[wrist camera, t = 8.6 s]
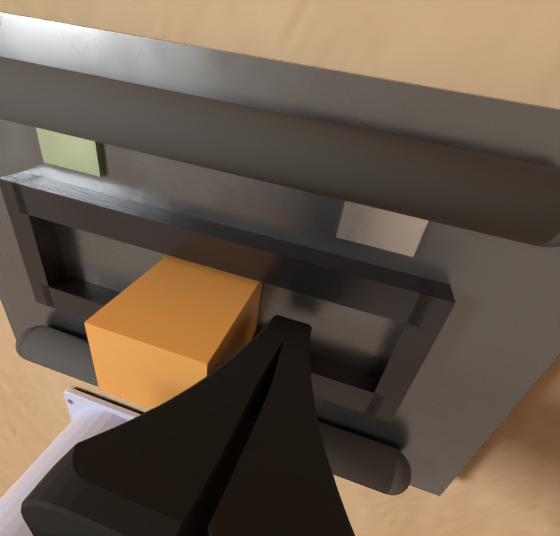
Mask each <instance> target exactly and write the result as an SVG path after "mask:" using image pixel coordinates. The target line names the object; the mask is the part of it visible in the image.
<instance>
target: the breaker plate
mask: <svg viewBox="0 0 560 536" xmlns="http://www.w3.org/2000/svg"><path fill="white" fill-rule="evenodd" d="M0 57H5V58H10V59H15V60H20V61H25V62H30V63H35V64H40V65H45V66H50V67H55V68H60V69H65V70H70V71H75V72H80V73H85V74H90V75H95V76H100V77H105V78H110V79H115V80H120V81H125V82H130V83H135V84H140V85H145V86H150V87H155V88H160V89H165V90H170V91H175V92H180V93H185V94H190V95H195V96H200V97H205V98H210V99H215V100H220V101H225V102H230V103H235V104H240V105H245V106H250V107H255V108H260V109H265V110H270V111H275V112H280V113H285V114H290V115H295V116H300V117H305V118H310V119H315V120H320V121H325V122H330V123H335V124H340V125H345V126H350V127H355V128H360V129H365V130H370V131H375V132H380V133H385V134H390V135H395V136H400V137H405V138H410V139H415V140H420V141H425V142H430V143H435V144H440V145H445V146H450V147H455V148H460V149H465V150H470V151H475V152H480V153H485V154H490V155H495V156H500V157H505V158H509V159H514V160H519V161H524V162H529V163H534V164H539V165H544V166H549V167H554V168H559V169H560V109H555V108H549V107H543V106H538V105H532V104H526V103H520V102H515V101H509V100H503V99H497V98H492V97H486V96H480V95H474V94H469V93H463V92H457V91H451V90H446V89H440V88H434V87H428V86H423V85H417V84H411V83H406V82H400V81H394V80H388V79H383V78H377V77H371V76H365V75H360V74H354V73H348V72H342V71H337V70H331V69H325V68H319V67H314V66H308V65H302V64H296V63H291V62H285V61H279V60H273V59H268V58H262V57H256V56H250V55H245V54H239V53H233V52H228V51H222V50H216V49H210V48H205V47H199V46H193V45H187V44H182V43H176V42H170V41H164V40H159V39H153V38H147V37H141V36H136V35H130V34H124V33H118V32H113V31H107V30H101V29H95V28H90V27H84V26H78V25H72V24H67V23H61V22H55V21H50V20H44V19H38V18H32V17H27V16H21V15H15V14H9V13H4V12H0ZM167 255H169V256H173V257H176V258H180V259H183V260H186V261H190V262H193V263H197V264H200V265H204V266H207V267H211V268H214V269H218V270H221V271H225V272H228V273H231V274H235V275H238V276H242V277H245V278H249V279H252V280H256V281H259V282H263V284H262V291H261V298H260V305H259V312H258V319H257V326H256V332H255V334H254V336H253V337H252V339H253V338H254V337H255V336H256V335H257V334H258V333H259V332H260V331H261V330H262V329H263V328H264V327H265V326H266V325H267V323H268V322H269V321H270V320H271V319H272V318H273V316H275V315H280V316H283V317H287V318H290V319H293V320H296V321H300V322H303V323H306V324H310V326H311V327H312V331H311V336H310V368H311V380H312V388H313V395H314V401H315V407H316V412H317V417H318V421H319V422H322V423H325V424H328V425H331V426H333V427H336V428H339V429H342V430H345V431H348V432H351V433H354V434H356V435H359V436H362V437H365V438H368V439H371V440H374V441H376V442H379V443H382V444H385V445H388V446H391V447H393V448H395V449H397V450H399V451H400V452H401V453H402V454H403V455H404V456H405V457H406V459H407V460H408V462H409V464H410V467H411V474H412V475H411V482H410V484H409V485H411V486H413V487H416V488H419V489H422V490H424V491H427V492H430V493H433V494H435V495H438V496H440V495H441V494H442V493H443V492H444V490H445V489H446V488H447V487H448V486H449V484H450V483H451V482H452V481H453V480H454V479H455V477H456V476H457V475H458V474H459V473H460V471H461V470H462V469H463V468H464V467H465V466H466V464H467V463H468V462H469V461H470V460H471V458H472V457H473V456H474V455H475V454H476V452H477V451H478V450H479V449H480V448H481V447H482V445H483V444H484V443H485V442H486V441H487V439H488V438H489V437H490V436H491V435H492V433H493V432H494V431H495V430H496V429H497V428H498V426H499V425H500V424H501V423H502V422H503V420H504V419H505V418H506V417H507V416H508V415H509V413H510V412H511V411H512V410H513V409H514V407H515V406H516V405H517V404H518V403H519V401H520V400H521V399H522V398H523V397H524V396H525V394H526V393H527V392H528V391H529V390H530V388H531V387H532V386H533V385H534V384H535V382H536V381H537V380H538V379H539V378H540V377H541V375H542V374H543V373H544V372H545V371H546V369H547V368H548V367H549V366H550V365H551V364H552V362H553V361H554V360H555V359H556V358H557V356H558V355H559V354H560V246H557V247H539V246H534V245H529V244H525V243H521V242H517V241H513V240H508V239H504V238H500V237H496V236H492V235H487V234H483V233H479V232H475V231H470V230H466V229H462V228H458V227H454V226H449V225H445V224H441V223H437V222H433V221H428V220H424V219H420V218H416V217H411V216H407V215H403V214H399V213H395V212H390V211H386V210H382V209H378V208H373V207H369V206H365V205H361V204H357V203H352V202H348V201H344V200H340V199H336V198H331V197H327V196H323V195H319V194H314V193H310V192H306V191H302V190H298V189H293V188H289V187H285V186H281V185H277V184H272V183H268V182H264V181H260V180H255V179H251V178H247V177H243V176H239V175H234V174H230V173H226V172H222V171H217V170H213V169H209V168H205V167H201V166H196V165H192V164H188V163H184V162H180V161H175V160H171V159H167V158H163V157H158V156H154V155H150V154H146V153H142V152H137V151H133V150H129V149H125V148H121V147H116V146H112V145H108V144H104V143H99V142H95V141H91V140H87V139H83V138H78V137H74V136H70V135H66V134H61V133H57V132H53V131H49V130H45V129H40V128H36V127H32V126H28V125H24V124H19V123H15V122H11V121H7V120H2V119H0V299H1V302H2V304H3V307H4V310H5V312H6V315H7V317H8V320H9V323H10V325H11V328H12V330H13V333H14V336H15V338H16V340H17V338H18V336H19V335H20V334H21V333H22V332H23V331H24V330H26V329H28V328H30V327H33V326H37V325H43V326H48V327H50V328H53V329H56V330H59V331H62V332H65V333H68V334H70V335H73V336H76V337H79V338H82V339H85V340H88V337H87V333H86V328H85V324H84V322H85V321H86V320H88V319H89V318H90V317H91V316H93V315H94V314H95V313H96V312H98V311H99V310H100V309H101V308H102V307H104V306H105V305H106V304H107V303H109V302H110V301H111V300H112V299H114V298H115V297H116V296H117V295H119V294H120V293H121V292H122V291H124V290H125V289H126V288H127V287H128V286H130V285H131V284H132V283H133V282H135V281H136V280H137V279H138V278H140V277H141V276H142V275H143V274H145V273H146V272H147V271H148V270H150V269H151V268H152V267H153V266H155V265H156V264H157V263H158V262H159V261H161V260H162V259H163V258H164V257H166V256H167ZM252 339H251V340H252Z"/></svg>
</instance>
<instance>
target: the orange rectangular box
mask: <svg viewBox="0 0 560 536" xmlns="http://www.w3.org/2000/svg"><path fill="white" fill-rule="evenodd" d="M262 284H263V282H259V281H256V280H252V279H249V278H245V277H242V276H238V275H235V274H231V273H228V272H225V271H221V270H218V269H214V268H211V267H207V266H204V265H200V264H197V263H193V262H190V261H186V260H183V259H180V258H176V257H173V256H169V255H167V256H166V257H164V258H163V259H162V260H161V261H159V262H158V263H157V264H156V265H155V266H153V267H152V268H151V269H150V270H148V271H147V272H146V273H145V274H143V275H142V276H141V277H140V278H138V279H137V280H136V281H135V282H133V283H132V284H131V285H130V286H128V287H127V288H126V289H125V290H124V291H122V292H121V293H120V294H119V295H117V296H116V297H115V298H114V299H112V300H111V301H110V302H109V303H107V304H106V305H105V306H104V307H102V308H101V309H100V310H99V311H98V312H96V313H95V314H94V315H93V316H91V317H90V318H89V319H88V320H86V321H85V322H84V324H85V328H86V333H87V337H88V342H89V346H90V351H91V355H92V360H93V364H94V369H95V373H96V377H97V382H98V386H99V390H102V391H105V392H107V393H110V394H113V395H115V396H118V397H121V398H123V399H126V400H129V401H131V402H134V403H137V404H139V405H142V406H145V407H147V408H150V409H153V408H155V407H157V406H159V405H161V404H163V403H164V402H166V401H168V400H170V399H171V398H173V397H175V396H176V395H178V394H180V393H181V392H183V391H185V390H186V389H188V388H190V387H191V386H193V385H194V384H196V383H197V382H199V381H200V380H202V379H203V378H205V377H206V376H208V375H209V374H210V373H212V372H213V371H215V370H216V369H217V368H219V367H220V366H221V365H222V364H224V363H225V362H226V361H227V360H229V359H230V358H231V357H232V356H234V355H235V354H236V353H237V352H238V351H240V350H241V349H242V348H243V347H244V346H245V345H246V344H247V343H248V342H250V341H251V339H252V337H253V336H254V334H255V332H256V326H257V319H258V312H259V305H260V298H261V291H262Z"/></svg>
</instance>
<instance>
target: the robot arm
mask: <svg viewBox="0 0 560 536" xmlns="http://www.w3.org/2000/svg"><path fill="white" fill-rule="evenodd" d="M311 331H312V327H311V326H310V324H306V323H303V322H300V321H296V320H293V319H290V318H287V317H283V316H280V315H275V316H273V318H272V319H271V320H270V321H269V322H268V323H267V325H266V326H265V327H264V328H263V329H262V330H261V331H260V332H259V333H258V334H257V335H256V336H255V337H254V338H253V339H252V340H251V341H250V342H248V343H247V344H246V345H245V346H244V347H243V348H242V349H241V350H240V351H238V352H237V353H236V354H235V355H234V356H232V357H231V358H230V359H229V360H227V361H226V362H225V363H224V364H222V365H221V366H220V367H219V368H217V369H216V370H215V371H213V372H212V373H210V374H209V375H208V376H206V377H205V378H203V379H202V380H200V381H199V382H197V383H196V384H194V385H193V386H191V387H190V388H188V389H186V390H185V391H183V392H181V393H180V394H178V395H176V396H175V397H173V398H171V399H170V400H168V401H166V402H164V403H163V404H161V405H159V406H157V407H155V408H153V409H151V410H149V411H147V412H145V413H143V414H139V413H136V412H133V411H131V410H128V409H125V408H123V407H120V406H118V405H115V404H112V403H110V402H107V401H104V400H102V399H99V398H96V397H94V396H91V395H89V394H86V393H83V392H81V391H78V390H75V389H73V388H68V389H67V390H66V391H65V392H64V398H65V401H66V404H67V407H68V411H69V414H70V417H71V420H72V421H71V423H70V424H69V425H68V426H67V427H66V428H65V429H64V430H63V431H62V432H61V433H60V434H59V436H58V437H57V438H56V439H55V440H54V441H53V442H52V443H51V444H50V445H49V446H48V448H47V449H46V450H45V451H44V452H43V453H42V454H41V455H40V456H39V457H38V458H37V459H36V461H35V462H34V463H33V464H32V465H31V466H30V467H29V468H28V469H27V470H26V471H25V473H24V474H23V475H22V476H21V477H20V478H19V479H18V480H17V481H16V482H15V483H14V484H13V486H12V487H11V488H10V489H9V490H8V491H7V492H6V493H5V494H4V495H3V496H2V497H1V499H0V536H355V535H354V532H353V529H352V527H351V524H350V522H349V519H348V517H347V514H346V511H345V509H344V506H343V503H342V500H341V497H340V495H339V492H338V489H337V486H336V483H335V480H334V476H333V473H332V470H331V467H330V464H329V460H328V457H327V454H326V450H325V446H324V443H323V439H322V435H321V431H320V426H319V422H318V417H317V412H316V407H315V401H314V395H313V388H312V380H311V368H310V336H311Z"/></svg>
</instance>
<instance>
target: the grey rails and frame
mask: <svg viewBox="0 0 560 536" xmlns="http://www.w3.org/2000/svg"><path fill="white" fill-rule="evenodd" d="M0 119H2V120H7V121H11V122H15V123H19V124H24V125H28V126H32V127H36V128H40V129H45V130H49V131H53V132H57V133H61V134H66V135H70V136H74V137H78V138H83V139H87V140H91V141H95V142H99V143H104V144H108V145H112V146H116V147H121V148H125V149H129V150H133V151H137V152H142V153H146V154H150V155H154V156H158V157H163V158H167V159H171V160H175V161H180V162H184V163H188V164H192V165H196V166H201V167H205V168H209V169H213V170H217V171H222V172H226V173H230V174H234V175H239V176H243V177H247V178H251V179H255V180H260V181H264V182H268V183H272V184H277V185H281V186H285V187H289V188H293V189H298V190H302V191H306V192H310V193H314V194H319V195H323V196H327V197H331V198H336V199H340V200H344V201H348V202H352V203H357V204H361V205H365V206H369V207H373V208H378V209H382V210H386V211H390V212H395V213H399V214H403V215H407V216H411V217H416V218H420V219H424V220H428V221H433V222H437V223H441V224H445V225H449V226H454V227H458V228H462V229H466V230H470V231H475V232H479V233H483V234H487V235H492V236H496V237H500V238H504V239H508V240H513V241H517V242H521V243H525V244H529V245H534V246H539V247H557V246H560V169H559V168H554V167H549V166H544V165H539V164H534V163H529V162H524V161H519V160H514V159H509V158H505V157H500V156H495V155H490V154H485V153H480V152H475V151H470V150H465V149H460V148H455V147H450V146H445V145H440V144H435V143H430V142H425V141H420V140H415V139H410V138H405V137H400V136H395V135H390V134H385V133H380V132H375V131H370V130H365V129H360V128H355V127H350V126H345V125H340V124H335V123H330V122H325V121H320V120H315V119H310V118H305V117H300V116H295V115H290V114H285V113H280V112H275V111H270V110H265V109H260V108H255V107H250V106H245V105H240V104H235V103H230V102H225V101H220V100H215V99H210V98H205V97H200V96H195V95H190V94H185V93H180V92H175V91H170V90H165V89H160V88H155V87H150V86H145V85H140V84H135V83H130V82H125V81H120V80H115V79H110V78H105V77H100V76H95V75H90V74H85V73H80V72H75V71H70V70H65V69H60V68H55V67H50V66H45V65H40V64H35V63H30V62H25V61H20V60H15V59H10V58H5V57H0ZM16 350H17V352H18V354H19V355H20V356H21V357H22V358H24V359H26V360H28V361H31V362H33V363H36V364H39V365H41V366H44V367H47V368H50V369H52V370H55V371H58V372H60V373H63V374H66V375H68V376H71V377H74V378H76V379H79V380H82V381H84V382H87V383H90V384H92V385H95V386H98V382H97V377H96V373H95V369H94V364H93V360H92V355H91V351H90V346H89V342H88V340H85V339H82V338H79V337H76V336H73V335H70V334H68V333H65V332H62V331H59V330H56V329H53V328H50V327H48V326H43V325H37V326H33V327H30V328H28V329H26V330H24V331H23V332H22V333H21V334H20V335H19V336H18V338H17V340H16ZM98 387H99V386H98ZM318 422H319V421H318ZM319 426H320V431H321V435H322V439H323V443H324V446H325V450H326V454H327V457H328V460H329V464H330V467H331V470H332V473H333V475H336V476H339V477H342V478H344V479H347V480H350V481H352V482H355V483H358V484H360V485H363V486H366V487H368V488H371V489H374V490H376V491H379V492H382V493H384V494H388V495H398V494H401V493H402V492H404V491H405V490H406V489H407V488H408V486H409V484H410V482H411V475H412V474H411V467H410V464H409V462H408V460H407V459H406V457H405V456H404V455H403V454H402V453H401V452H400V451H399V450H397V449H395V448H393V447H391V446H388V445H385V444H382V443H379V442H376V441H374V440H371V439H368V438H365V437H362V436H359V435H356V434H354V433H351V432H348V431H345V430H342V429H339V428H336V427H333V426H331V425H328V424H325V423H322V422H319Z"/></svg>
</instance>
